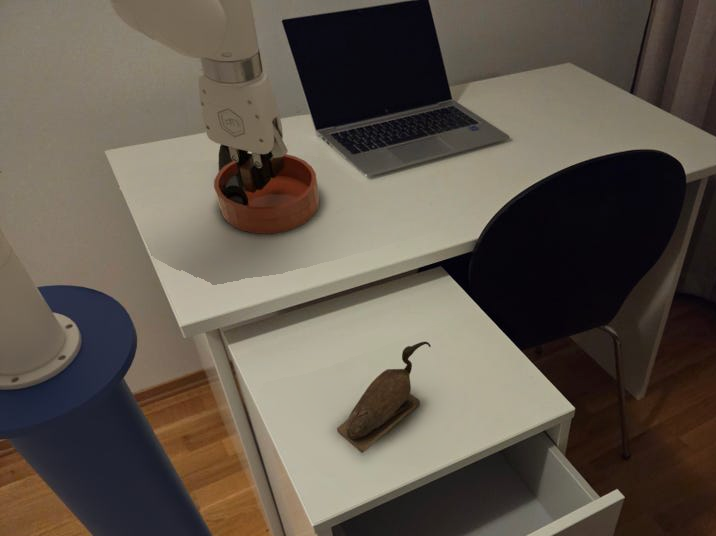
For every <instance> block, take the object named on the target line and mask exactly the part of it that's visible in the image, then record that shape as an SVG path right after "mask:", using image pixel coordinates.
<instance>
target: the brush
mask: <svg viewBox="0 0 716 536" xmlns="http://www.w3.org/2000/svg"><path fill="white" fill-rule="evenodd" d="M250 154H252V152H250ZM284 156H285V155H284ZM284 156H283V157H284ZM283 157H279V158H271V159H270V160H269V161H268V166H269V171H270V177H271V178H275V177H276V176H277V175H278V174H279V173H280V172H281V171H282V169H283V168H284V167H285V164H284V158H283ZM253 165H254V160H253V154H252V157H251V158H249V159H248V160H247V161H246V162H245V163H244V164H243V165H242V166H241V167H240V172H241V176H242V180H243V185H244V189H245V191H248V192H252V193H255V192H256V191H257V189H256V186H255V181H254V176H253V171H252V166H253Z"/></svg>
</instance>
